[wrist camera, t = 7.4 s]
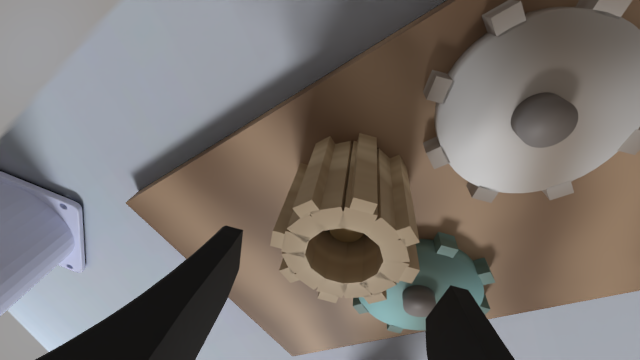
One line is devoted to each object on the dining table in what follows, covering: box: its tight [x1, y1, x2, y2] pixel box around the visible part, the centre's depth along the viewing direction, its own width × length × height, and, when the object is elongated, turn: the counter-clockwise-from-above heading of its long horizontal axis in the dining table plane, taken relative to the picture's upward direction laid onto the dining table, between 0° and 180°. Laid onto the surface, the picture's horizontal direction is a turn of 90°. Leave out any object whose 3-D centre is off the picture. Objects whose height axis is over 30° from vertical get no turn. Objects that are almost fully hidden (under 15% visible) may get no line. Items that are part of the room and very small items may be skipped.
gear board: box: [126, 0, 640, 356], centre depth 16 cm, size 26×18×5 cm
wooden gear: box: [270, 133, 420, 304], centre depth 13 cm, size 6×6×5 cm
